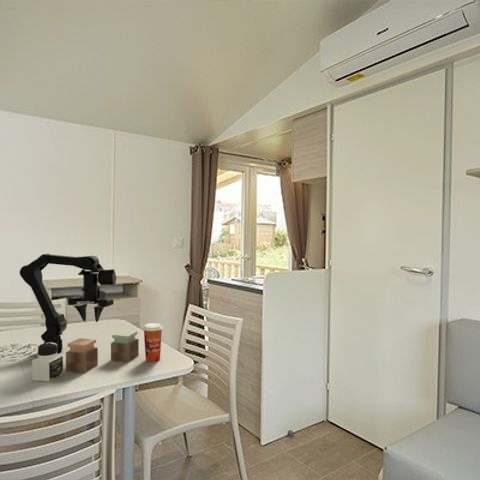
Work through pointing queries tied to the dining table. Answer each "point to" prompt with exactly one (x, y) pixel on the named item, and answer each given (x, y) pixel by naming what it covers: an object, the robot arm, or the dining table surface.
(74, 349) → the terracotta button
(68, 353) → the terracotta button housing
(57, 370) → the medicine bottle
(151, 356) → the paper cup
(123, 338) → the sage button
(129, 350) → the block
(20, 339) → the dining table surface
